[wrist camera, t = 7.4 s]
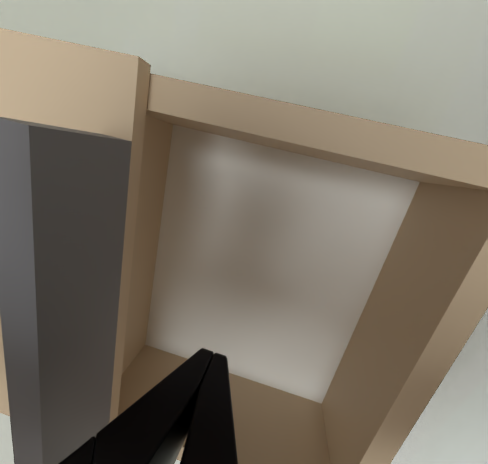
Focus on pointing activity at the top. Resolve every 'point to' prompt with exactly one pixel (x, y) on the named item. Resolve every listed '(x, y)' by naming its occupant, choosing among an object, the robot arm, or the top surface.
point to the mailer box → (304, 267)
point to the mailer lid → (65, 236)
